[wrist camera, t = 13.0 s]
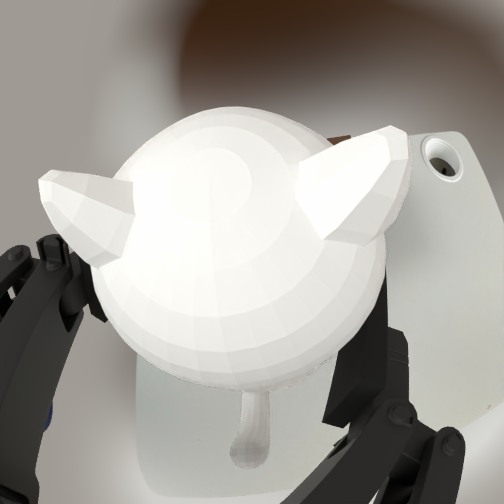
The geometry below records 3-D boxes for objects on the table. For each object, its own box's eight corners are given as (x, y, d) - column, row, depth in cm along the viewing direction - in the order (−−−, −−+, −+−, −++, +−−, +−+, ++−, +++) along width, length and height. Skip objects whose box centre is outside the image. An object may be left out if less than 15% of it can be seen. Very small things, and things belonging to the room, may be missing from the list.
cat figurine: (318, 220, 19) (391, 16, 5) (336, 409, 16) (466, 559, 2) (185, 233, 20) (48, 66, 5) (196, 419, 16) (51, 560, 2)
